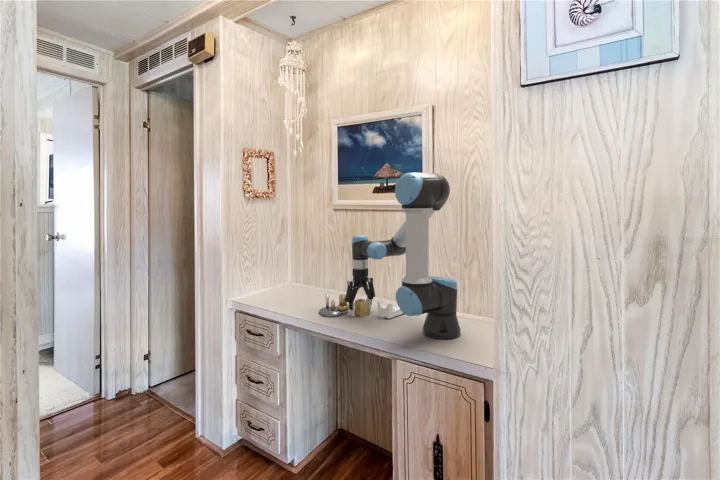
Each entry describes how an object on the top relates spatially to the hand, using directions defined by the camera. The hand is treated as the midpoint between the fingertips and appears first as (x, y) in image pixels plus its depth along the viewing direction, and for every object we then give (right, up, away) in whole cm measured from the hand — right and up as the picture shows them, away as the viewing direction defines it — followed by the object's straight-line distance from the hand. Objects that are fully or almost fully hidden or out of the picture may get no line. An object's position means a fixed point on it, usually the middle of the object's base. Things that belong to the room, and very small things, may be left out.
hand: (360, 314), depth 178 cm
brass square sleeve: (0, 0, 0) cm, 0 cm away
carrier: (-13, 0, +3) cm, 14 cm away
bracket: (+15, -1, -1) cm, 15 cm away
